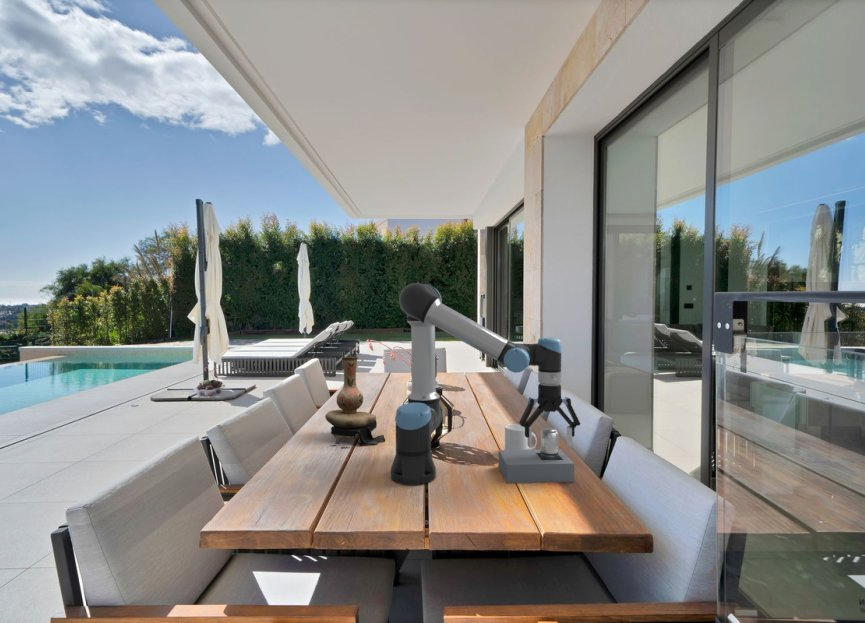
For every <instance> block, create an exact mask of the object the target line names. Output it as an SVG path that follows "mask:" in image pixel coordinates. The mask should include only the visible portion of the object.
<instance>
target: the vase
mask: <svg viewBox="0 0 865 623" xmlns="http://www.w3.org/2000/svg"><path fill="white" fill-rule="evenodd" d="M358 360H359V356H341V361H342V367H343V386H342V388H341V390H340V391H339V392H338V393H337V395H336V405H337V407H338V408H339V409H334V410H330V411H328V412H326V414H325V417H324V418H325V420H326V422H327V423H329V424H331V427H330V431H331V432H330V433H331V434H332V435H333V437H336V438H335V444H332V445H329V447H337V445H339V444H340V441H339V440H340V439H343V440H344V439H345V438H348V439H350V438H354V439H356V436H357V435H358V439H359V440H358V441H357V445H358V446H363V445H366V444H373V445H376V446H378V444H380V442H383V443H385V442H386V438H385V436H384V434H381V435H376V436H375V437H374V436H373V433H372V432H374V431H375V430H376V428H377V417H376V414H373V413H370V412H367V411H357V410H358V409H360V408H361V406H362V405H363V403H364V394H363V393H362V391H361V390H360V389H359V388H358V386H357V381H356V380H357V366H358V365H357V364H358ZM346 448H348V449H349V448H350V447H349V446H348V447H347V446H342V447H340V449H346Z"/></svg>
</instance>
